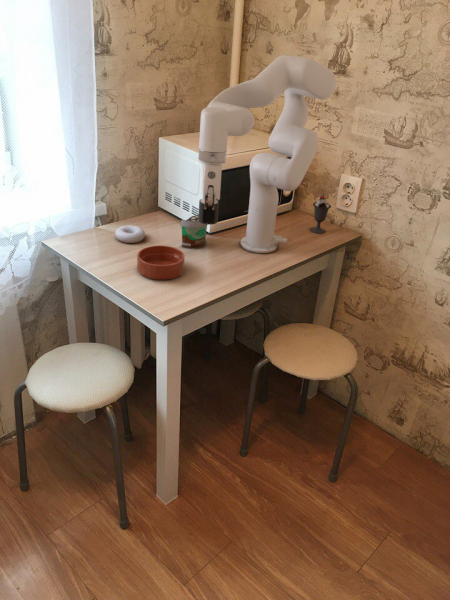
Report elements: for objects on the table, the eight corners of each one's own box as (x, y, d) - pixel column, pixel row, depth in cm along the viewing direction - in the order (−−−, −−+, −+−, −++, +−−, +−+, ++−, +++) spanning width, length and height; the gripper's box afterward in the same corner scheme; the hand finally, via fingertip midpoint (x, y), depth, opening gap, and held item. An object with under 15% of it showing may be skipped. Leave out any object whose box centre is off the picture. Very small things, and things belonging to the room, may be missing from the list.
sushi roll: (217, 218, 152) (218, 197, 149) (217, 225, 147) (219, 204, 144) (198, 216, 152) (199, 196, 149) (198, 224, 147) (199, 203, 144)
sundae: (315, 225, 198) (322, 188, 190) (329, 231, 194) (337, 193, 186) (304, 229, 194) (311, 191, 186) (318, 235, 190) (326, 196, 182)
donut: (112, 243, 170) (142, 245, 170) (111, 234, 168) (142, 236, 168) (118, 232, 179) (147, 233, 179) (118, 222, 177) (147, 224, 177)
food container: (194, 253, 168) (196, 224, 163) (179, 248, 171) (180, 219, 166) (215, 241, 178) (217, 214, 173) (200, 236, 180) (201, 209, 175)
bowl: (184, 261, 163) (185, 246, 160) (183, 282, 151) (183, 267, 148) (140, 258, 162) (140, 244, 159) (135, 279, 150) (134, 264, 147)
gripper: (227, 165, 133) (222, 230, 142) (224, 149, 148) (219, 208, 157) (198, 163, 132) (194, 228, 141) (198, 147, 147) (195, 207, 156)
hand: (208, 217), depth 149 cm, fingers closed on sushi roll, 5 cm apart
